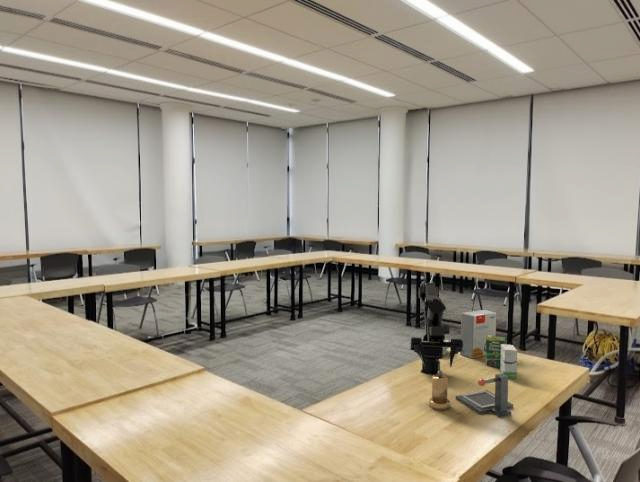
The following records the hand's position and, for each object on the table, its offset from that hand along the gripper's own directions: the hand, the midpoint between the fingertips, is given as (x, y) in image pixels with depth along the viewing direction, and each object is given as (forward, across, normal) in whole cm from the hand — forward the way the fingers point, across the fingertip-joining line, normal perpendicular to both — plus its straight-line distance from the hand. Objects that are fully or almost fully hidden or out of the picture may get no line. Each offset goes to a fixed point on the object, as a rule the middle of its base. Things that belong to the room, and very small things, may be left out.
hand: (437, 365), depth 160 cm
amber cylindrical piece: (+13, 0, +4) cm, 14 cm away
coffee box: (-18, +29, +35) cm, 49 cm away
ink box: (-10, +32, +28) cm, 43 cm away
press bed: (+12, +16, +6) cm, 20 cm away
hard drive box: (-29, +25, +46) cm, 60 cm away
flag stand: (-30, +5, +47) cm, 56 cm away
